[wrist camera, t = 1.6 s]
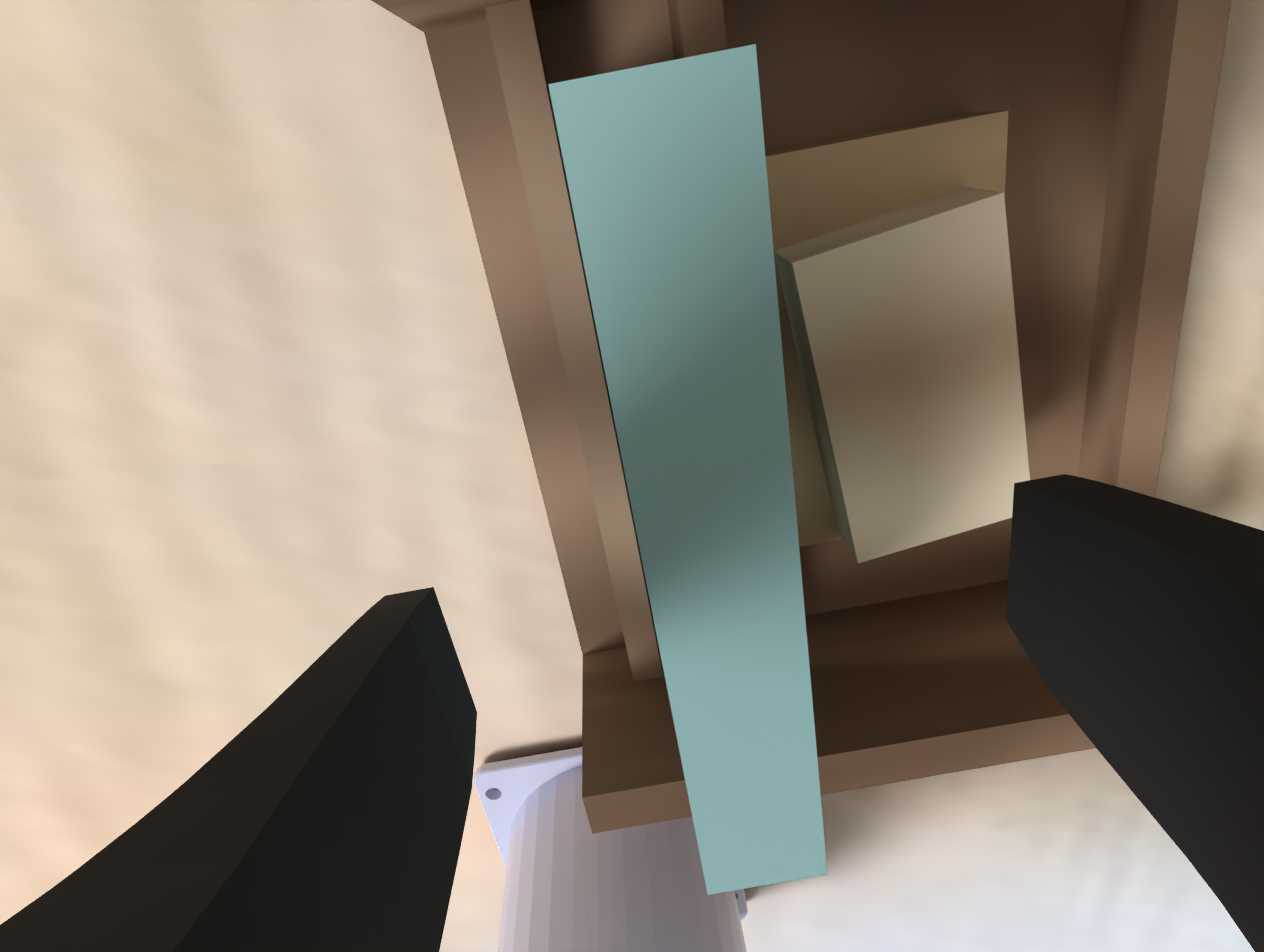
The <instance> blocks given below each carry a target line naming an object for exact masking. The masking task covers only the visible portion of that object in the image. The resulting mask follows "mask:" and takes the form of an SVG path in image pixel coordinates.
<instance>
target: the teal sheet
mask: <svg viewBox="0 0 1264 952" xmlns="http://www.w3.org/2000/svg"><path fill="white" fill-rule="evenodd" d="M548 86H549V91H550V96H551V101H552V106H553V111H554V116H555V121H556V126H557V131H558V136H559V141H560V147H561V152H562V157H563V162H564V167H565V172H566V177H567V182H568V187H569V192H570V197H571V202H572V208H573V213H574V218H575V223H576V228H577V233H578V238H579V243H580V248H581V253H582V258H583V263H584V269H585V274H586V279H587V284H588V289H589V294H590V299H591V304H592V309H593V314H594V319H595V324H596V330H597V335H598V340H599V345H600V350H601V355H602V360H603V365H604V370H605V375H606V380H607V385H608V391H609V396H610V401H611V406H612V411H613V416H614V421H615V426H616V431H617V436H618V441H619V446H620V452H621V457H622V462H623V467H624V472H625V477H626V482H627V487H628V492H629V497H630V502H631V507H632V513H633V518H634V523H635V528H636V533H637V538H638V543H639V548H640V553H641V558H642V563H643V568H644V574H645V579H646V584H647V589H648V594H649V599H650V604H651V609H652V614H653V619H654V624H655V629H656V635H657V640H658V645H659V650H660V655H661V660H662V665H663V670H664V675H665V680H666V685H667V690H668V696H669V701H670V706H671V711H672V716H673V721H674V726H675V731H676V736H677V741H678V746H679V751H680V757H681V762H682V767H683V772H684V777H685V782H686V787H687V792H688V797H689V802H690V807H691V812H692V818H693V823H694V828H695V833H696V838H697V843H698V848H699V853H700V858H701V863H702V868H703V873H704V879H705V884H706V889H707V894H708V895H710V894H716V893H722V892H728V891H734V890H739V889H745V888H751V887H757V886H763V885H769V884H775V883H781V882H787V881H793V880H799V879H805V878H811V877H817V876H823V875H827V863H826V852H825V840H824V829H823V817H822V805H821V794H820V782H819V771H818V759H817V747H816V736H815V724H814V713H813V701H812V690H811V678H810V666H809V655H808V643H807V632H806V620H805V609H804V597H803V585H802V574H801V562H800V551H799V539H798V527H797V516H796V504H795V493H794V481H793V470H792V458H791V446H790V435H789V423H788V412H787V400H786V389H785V377H784V365H783V354H782V342H781V331H780V319H779V307H778V296H777V284H776V273H775V261H774V250H773V238H772V226H771V215H770V203H769V192H768V180H767V168H766V157H765V145H764V134H763V122H762V111H761V99H760V87H759V76H758V64H757V53H756V44H753V45H748V46H743V47H738V48H733V49H728V50H722V51H717V52H712V53H707V54H702V55H697V56H691V57H686V58H681V59H676V60H671V61H666V62H661V63H655V64H650V65H645V66H640V67H635V68H630V69H624V70H619V71H614V72H609V73H604V74H599V75H594V76H588V77H583V78H578V79H573V80H568V81H563V82H557V83H552V84H548Z"/></svg>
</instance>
